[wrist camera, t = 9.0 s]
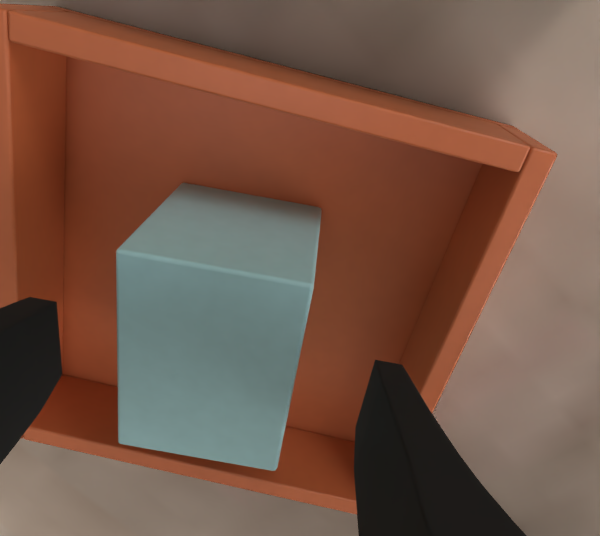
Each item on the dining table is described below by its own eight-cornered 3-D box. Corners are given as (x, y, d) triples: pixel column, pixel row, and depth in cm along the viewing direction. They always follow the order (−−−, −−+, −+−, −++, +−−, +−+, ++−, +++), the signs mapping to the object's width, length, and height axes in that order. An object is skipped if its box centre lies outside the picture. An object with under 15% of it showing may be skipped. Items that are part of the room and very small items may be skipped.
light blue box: (322, 206, 14) (314, 285, 10) (292, 359, 16) (276, 473, 12) (181, 180, 14) (114, 249, 10) (173, 337, 16) (117, 445, 12)
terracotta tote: (514, 126, 13) (559, 153, 10) (375, 448, 18) (380, 521, 16) (54, 5, 12) (-24, 1, 10) (53, 373, 18) (3, 435, 15)
